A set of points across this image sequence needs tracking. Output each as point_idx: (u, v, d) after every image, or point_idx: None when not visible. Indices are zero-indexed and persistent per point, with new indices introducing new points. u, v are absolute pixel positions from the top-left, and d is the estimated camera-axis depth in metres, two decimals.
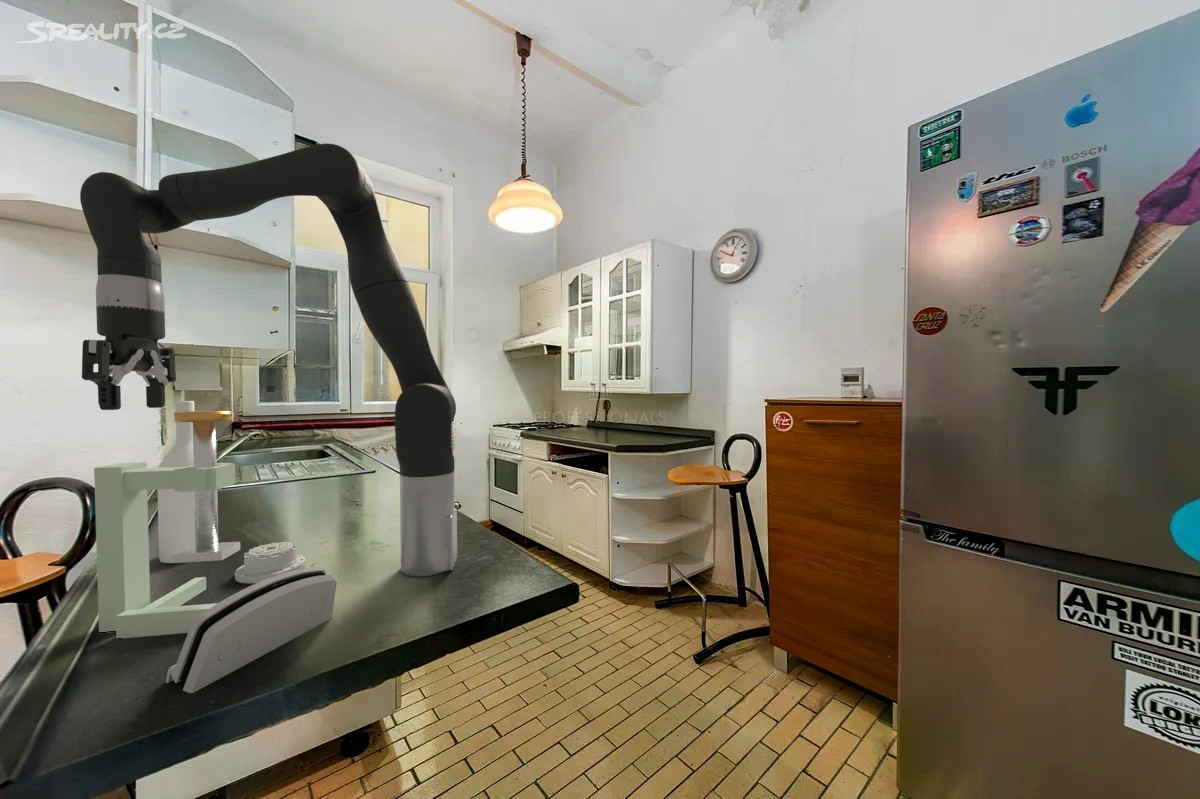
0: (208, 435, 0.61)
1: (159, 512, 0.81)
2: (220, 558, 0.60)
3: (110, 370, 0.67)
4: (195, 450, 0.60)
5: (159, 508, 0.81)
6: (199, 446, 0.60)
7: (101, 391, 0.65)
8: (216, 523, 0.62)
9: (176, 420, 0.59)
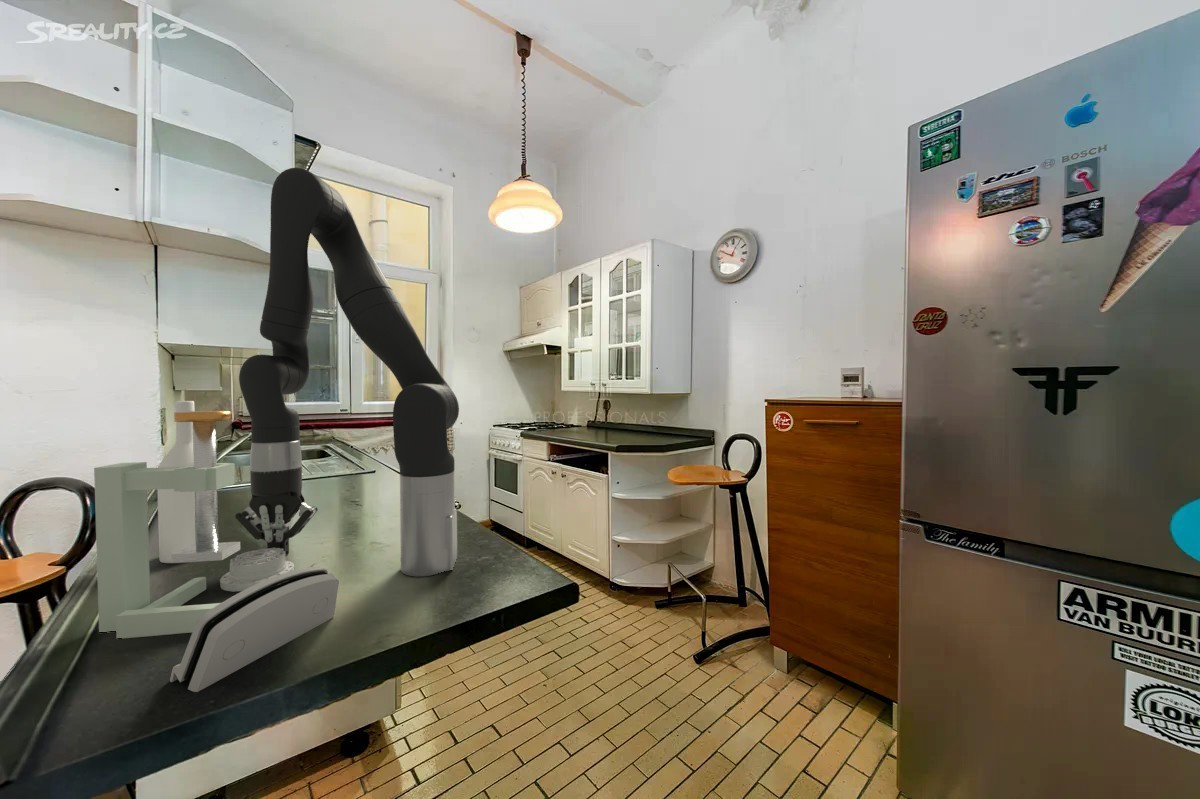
0: (208, 435, 0.61)
1: (159, 512, 0.81)
2: (220, 558, 0.60)
3: None
4: (195, 450, 0.60)
5: (159, 508, 0.81)
6: (199, 446, 0.60)
7: (285, 545, 0.80)
8: (216, 523, 0.62)
9: (176, 420, 0.59)
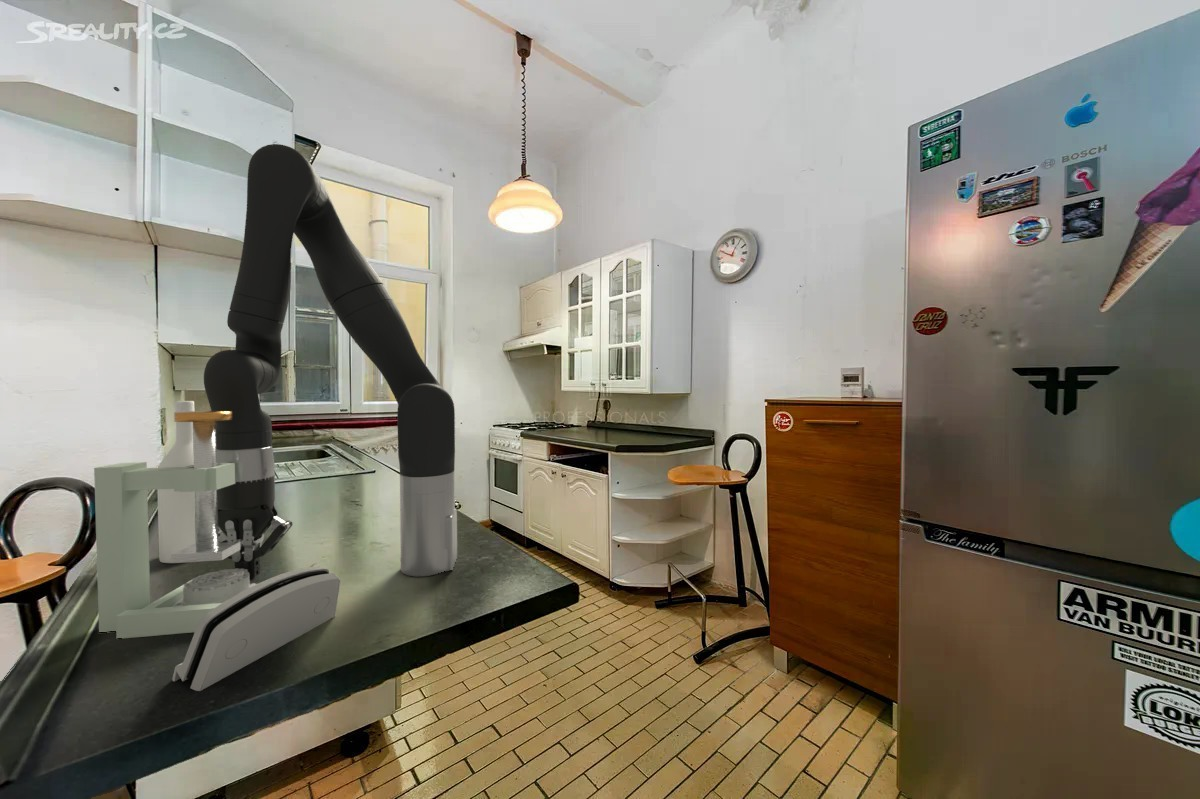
0: (208, 435, 0.61)
1: (159, 512, 0.81)
2: (220, 558, 0.60)
3: None
4: (195, 450, 0.60)
5: (159, 508, 0.81)
6: (199, 446, 0.60)
7: (255, 565, 0.71)
8: (216, 523, 0.62)
9: (176, 420, 0.59)
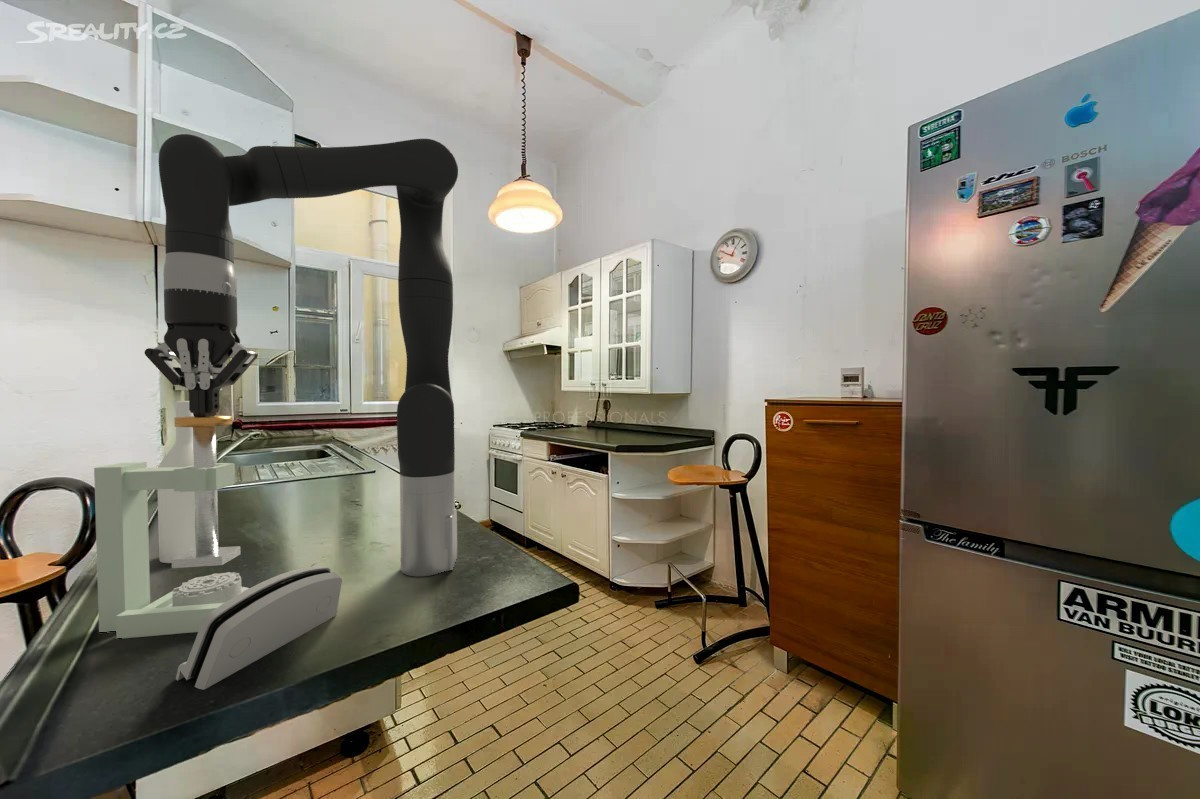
0: (208, 440, 0.61)
1: (159, 512, 0.81)
2: (220, 563, 0.60)
3: (212, 372, 0.61)
4: (195, 455, 0.60)
5: (159, 508, 0.81)
6: (199, 451, 0.60)
7: (213, 396, 0.61)
8: (216, 528, 0.62)
9: (176, 425, 0.59)
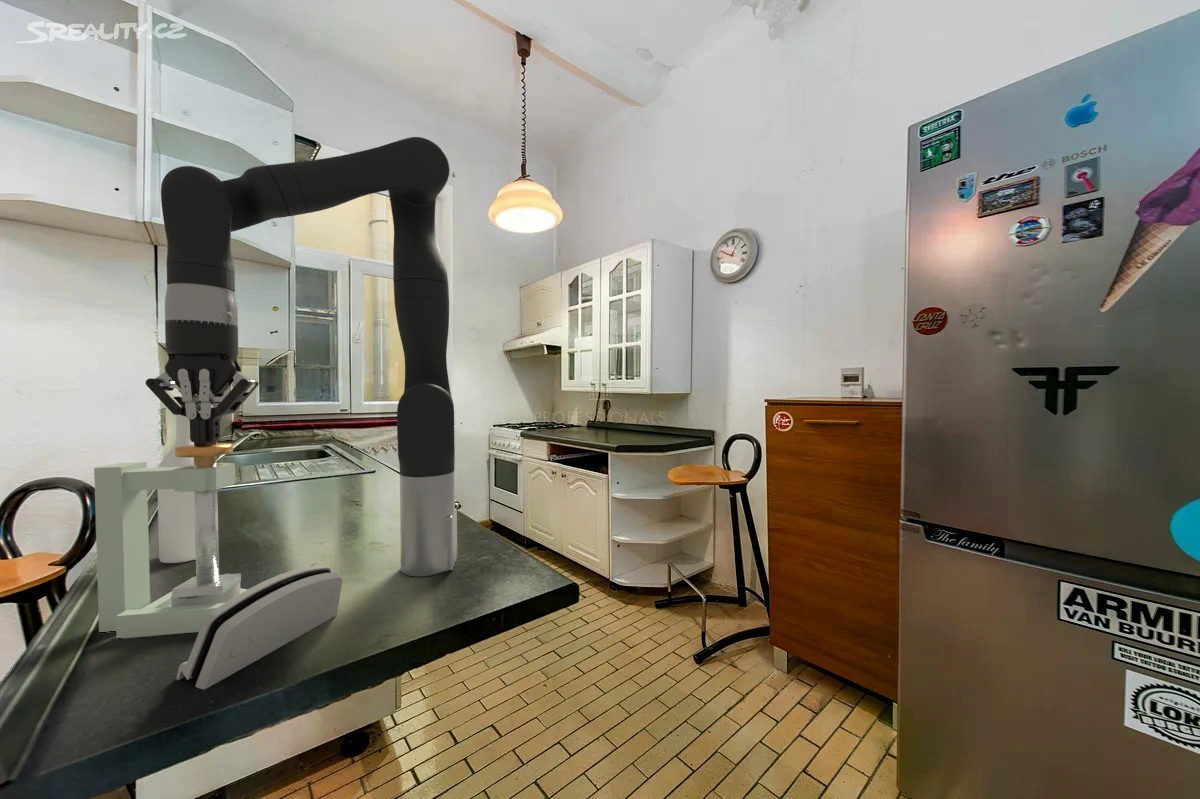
0: None
1: (159, 512, 0.81)
2: (221, 592, 0.60)
3: (213, 401, 0.61)
4: None
5: (159, 508, 0.81)
6: None
7: (214, 425, 0.61)
8: (217, 556, 0.62)
9: (177, 455, 0.59)
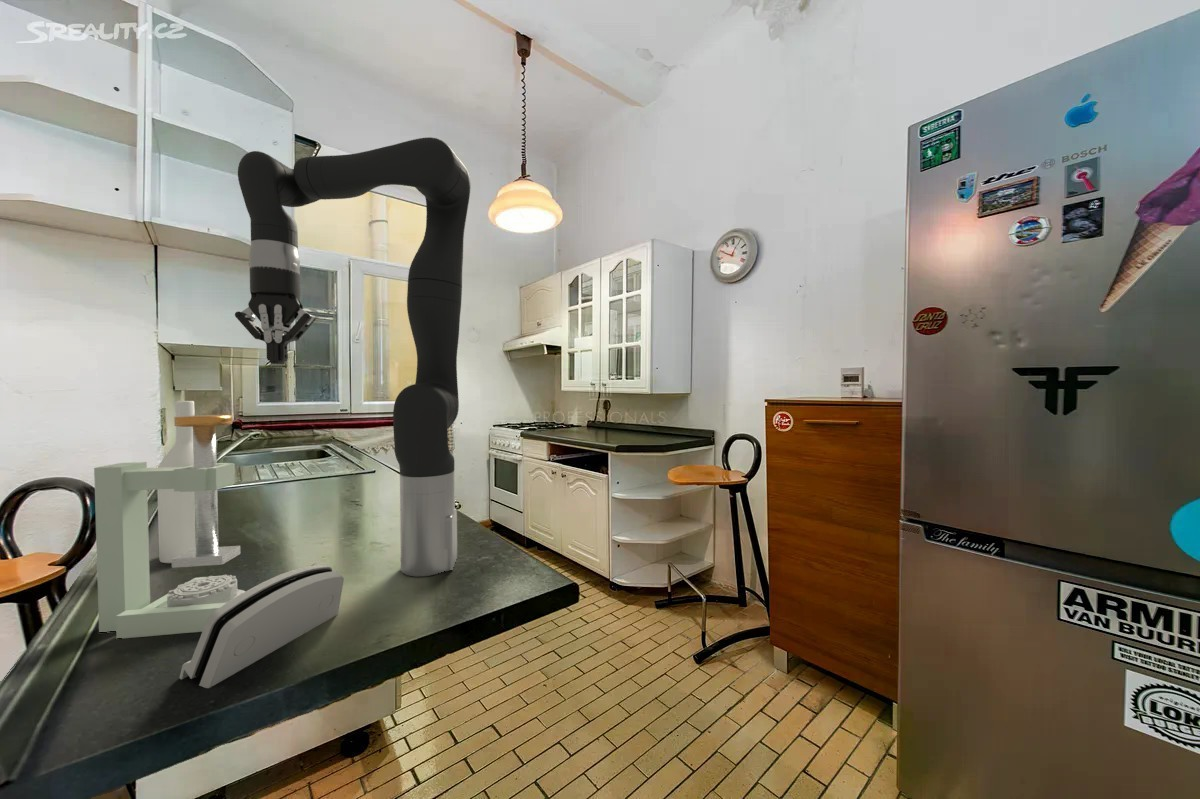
0: (208, 439, 0.61)
1: (159, 512, 0.81)
2: (220, 562, 0.60)
3: (283, 330, 0.81)
4: (195, 454, 0.60)
5: (159, 508, 0.81)
6: (199, 450, 0.60)
7: (284, 348, 0.81)
8: (216, 527, 0.62)
9: (176, 425, 0.59)
